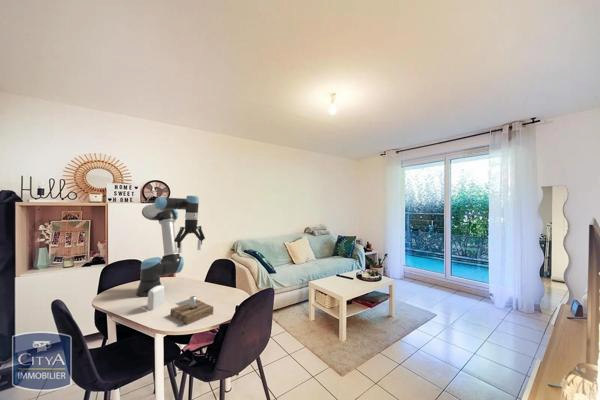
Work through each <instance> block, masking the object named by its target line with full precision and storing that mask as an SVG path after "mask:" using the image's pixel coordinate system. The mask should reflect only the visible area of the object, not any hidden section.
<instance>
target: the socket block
mask: <svg viewBox="0 0 600 400" xmlns="http://www.w3.org/2000/svg"><path fill="white" fill-rule="evenodd" d="M198 300H199V299H197V300H196V305H195V309H193V310H190V302H189V303H187V304H184V305H181V306H179V305H177V306H175V307H172V308H170V312H169V313H170V316H171V317H172V318H174V319H176V320H178V321H180V322H183V324H185V325H190V324H193V323H195V322H197V321H200V320H202V319H205V318H207V317H209V316H211V315H213V314H214V306H213V305H210V304H208V303H205V302H204V301H202V302H200V301H201V300H199V301H198ZM203 302H204V303H203Z"/></svg>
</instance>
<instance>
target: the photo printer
mask: <svg viewBox="0 0 600 400" xmlns="http://www.w3.org/2000/svg"><path fill="white" fill-rule="evenodd" d="M164 303H165V286H164V285H162V284H161V285H159V286H156V287H154V288H152V289H151V290H150V291H149V292H148V296H147V307H146V309H147V311H153V310H155V309H158V308H159V307H161V306H162V305H164Z"/></svg>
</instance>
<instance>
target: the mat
mask: <svg viewBox="0 0 600 400" xmlns="http://www.w3.org/2000/svg"><path fill="white" fill-rule="evenodd" d="M196 300H198V301H200V302H203V303H205V302H204V301H201V300H199V299H197V298H196ZM189 302H190V298H188V299H185V300H182V301H179V302H177V303H175V305H177V306H181V305H184V304H187V303H189Z"/></svg>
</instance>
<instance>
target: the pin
mask: <svg viewBox="0 0 600 400" xmlns="http://www.w3.org/2000/svg"><path fill="white" fill-rule="evenodd" d="M189 299H190V310H193V309H195V305H196V299H197V296H195V295H191V296H190V297H189Z"/></svg>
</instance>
